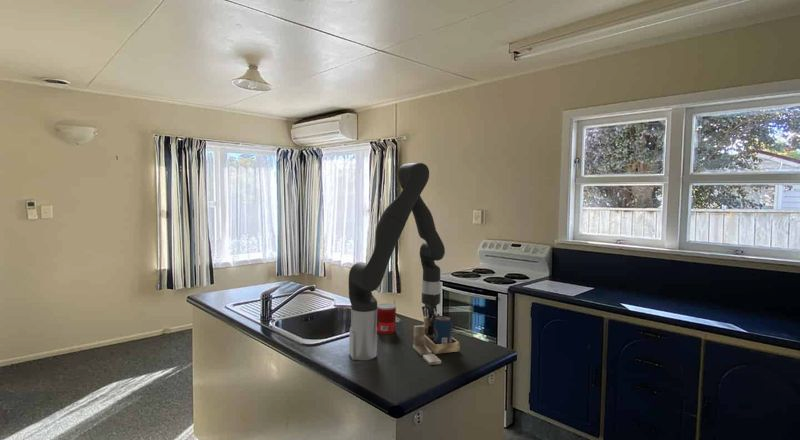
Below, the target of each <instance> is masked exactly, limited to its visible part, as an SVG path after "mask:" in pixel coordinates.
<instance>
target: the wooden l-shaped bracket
mask: <svg viewBox="0 0 800 440" xmlns="http://www.w3.org/2000/svg"><path fill="white" fill-rule="evenodd" d="M424 334H425V326H424V324H422V325H414V326H413V345H412V348H413V349H414V350H415V351H416V352H417V353H418V354H419V355H420V357H421V356H422V359H423V360H424V361H425V362H426V363H427V364H428V365H429V366H433V365H441V364H442V360H441V359H440V358H439V357H438V356H437V354H434V353H433V352H432V351H431V350H430V349H429V348H428V347H427V346H426V345H425V344H424Z"/></svg>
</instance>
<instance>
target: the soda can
mask: <svg viewBox="0 0 800 440" xmlns="http://www.w3.org/2000/svg"><path fill="white" fill-rule="evenodd" d="M452 337H453V322H452V318H451V317H450V316H447V315H440V316H437V317H436V319H435V321H434V334H433V338H432V339H433V340H432V342H434V343H435V344H446V343H452Z"/></svg>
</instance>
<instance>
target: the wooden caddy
mask: <svg viewBox="0 0 800 440" xmlns="http://www.w3.org/2000/svg"><path fill="white" fill-rule="evenodd" d="M430 318H432V317H430ZM423 325H424V326H425V334H424V345H425V346H426V347H427V348H428V349H429V350H430V351H431V352H432V354H434V355H437V354H446V353H453V352H454V353H456V352H457V353H458V352H460V350H461V349H460V344H461V343H460V342H459V341H458V340H457V339H456V338H454V337H453V336H452V343H446V344H435V343H434V342H433V340H432V339H433V335H429V334H428V326H429V325H428V319H427V317H424V316H423Z"/></svg>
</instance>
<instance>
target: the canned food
mask: <svg viewBox="0 0 800 440" xmlns="http://www.w3.org/2000/svg"><path fill="white" fill-rule="evenodd" d="M396 314H397V308H396V304H394V303H386V302H385V303H380V304H377V334H381V335H391V334H393V333H395V332H396V318H397V317H396V316H397V315H396Z"/></svg>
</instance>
